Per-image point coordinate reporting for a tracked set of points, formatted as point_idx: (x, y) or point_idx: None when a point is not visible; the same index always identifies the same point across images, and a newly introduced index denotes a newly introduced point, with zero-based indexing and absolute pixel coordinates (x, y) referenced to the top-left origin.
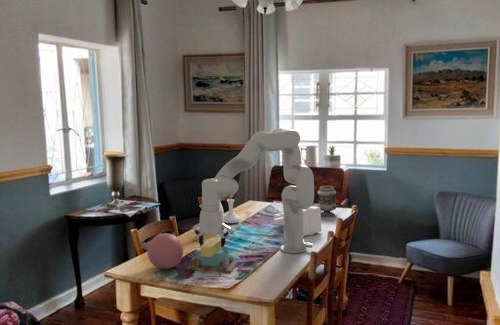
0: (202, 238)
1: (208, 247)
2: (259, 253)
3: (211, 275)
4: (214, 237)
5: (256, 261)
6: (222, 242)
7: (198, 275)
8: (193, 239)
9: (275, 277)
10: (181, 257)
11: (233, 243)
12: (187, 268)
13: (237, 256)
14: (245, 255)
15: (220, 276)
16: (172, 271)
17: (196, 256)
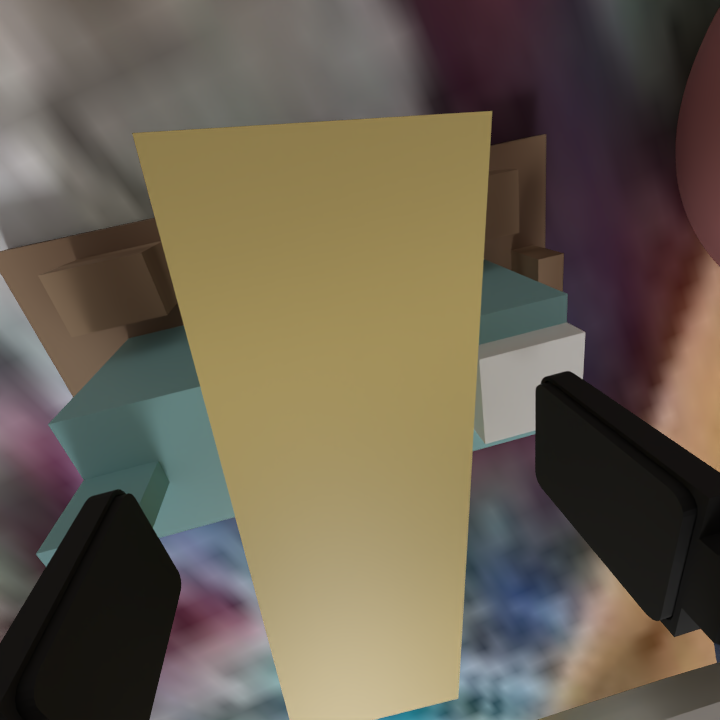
0: (627, 530)
1: (214, 148)
2: None
3: (172, 79)
4: (451, 697)
5: (27, 589)
6: (39, 592)
7: (324, 11)
8: (663, 649)
9: None
10: (704, 138)
11: (407, 715)
12: (529, 137)
13: (251, 592)
14: (205, 630)
15: (42, 92)
16: (663, 21)
17: (518, 278)
